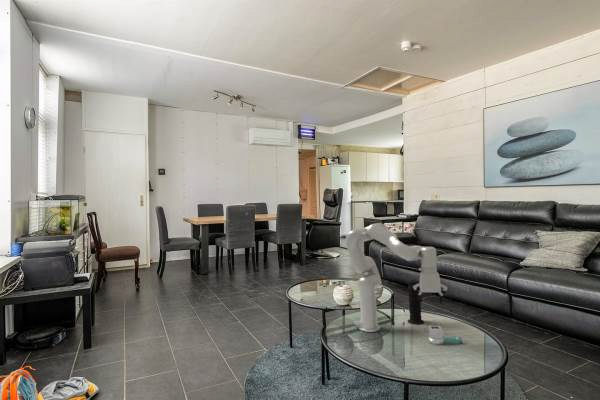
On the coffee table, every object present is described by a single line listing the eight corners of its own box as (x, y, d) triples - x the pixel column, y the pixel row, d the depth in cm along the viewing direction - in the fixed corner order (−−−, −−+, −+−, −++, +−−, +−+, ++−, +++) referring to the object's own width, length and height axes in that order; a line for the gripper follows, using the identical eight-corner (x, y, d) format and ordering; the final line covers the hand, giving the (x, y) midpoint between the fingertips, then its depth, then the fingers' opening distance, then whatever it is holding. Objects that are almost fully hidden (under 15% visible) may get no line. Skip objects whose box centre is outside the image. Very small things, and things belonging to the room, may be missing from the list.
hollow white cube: (430, 339, 171) (430, 329, 171) (429, 334, 176) (428, 325, 177) (442, 339, 169) (442, 329, 170) (440, 335, 175) (440, 325, 175)
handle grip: (426, 324, 198) (422, 319, 208) (423, 280, 199) (419, 277, 209) (409, 324, 199) (405, 319, 209) (407, 281, 200) (403, 277, 210)
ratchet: (429, 344, 170) (428, 331, 170) (427, 338, 178) (426, 325, 178) (463, 346, 166) (462, 332, 166) (459, 340, 174) (458, 326, 174)
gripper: (412, 271, 173) (414, 303, 173) (448, 271, 169) (449, 305, 169) (411, 268, 180) (412, 299, 180) (445, 269, 176) (446, 300, 176)
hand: (430, 302), depth 174 cm, fingers open, 9 cm apart
